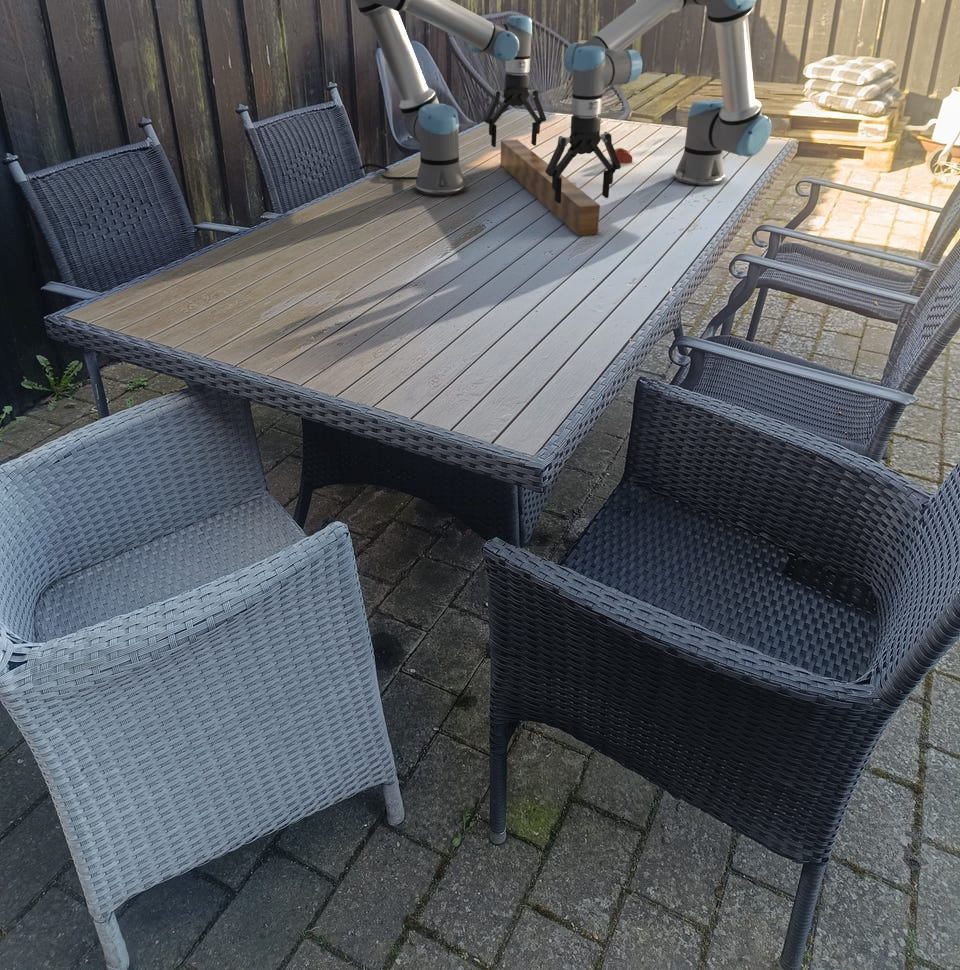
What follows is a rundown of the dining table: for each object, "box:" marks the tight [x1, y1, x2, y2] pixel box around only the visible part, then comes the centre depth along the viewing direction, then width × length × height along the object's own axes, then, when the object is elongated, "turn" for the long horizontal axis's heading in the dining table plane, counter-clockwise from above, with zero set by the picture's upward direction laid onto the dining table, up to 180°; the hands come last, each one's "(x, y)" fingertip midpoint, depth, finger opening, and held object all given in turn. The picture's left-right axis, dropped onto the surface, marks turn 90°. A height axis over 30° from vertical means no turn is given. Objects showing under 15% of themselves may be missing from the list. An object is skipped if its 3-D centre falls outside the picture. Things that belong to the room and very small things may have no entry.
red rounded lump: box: [614, 147, 633, 165], centre depth 283 cm, size 6×4×8 cm
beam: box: [500, 139, 601, 237], centre depth 251 cm, size 73×6×8 cm, turn 15°
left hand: (513, 145), depth 272 cm, fingers open, 13 cm apart
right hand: (581, 199), depth 226 cm, fingers open, 13 cm apart
